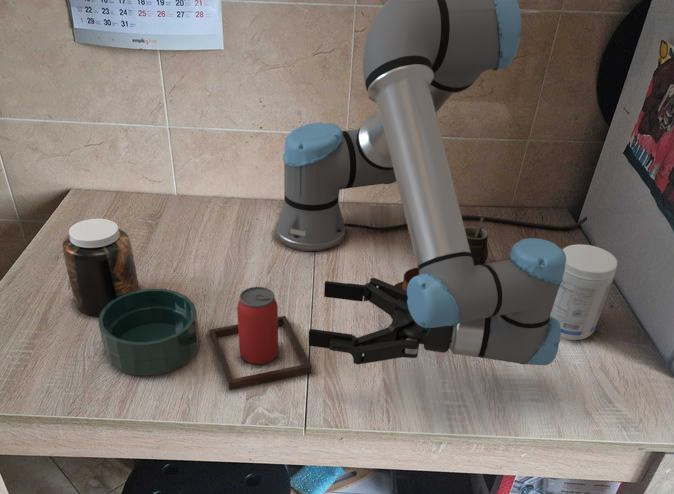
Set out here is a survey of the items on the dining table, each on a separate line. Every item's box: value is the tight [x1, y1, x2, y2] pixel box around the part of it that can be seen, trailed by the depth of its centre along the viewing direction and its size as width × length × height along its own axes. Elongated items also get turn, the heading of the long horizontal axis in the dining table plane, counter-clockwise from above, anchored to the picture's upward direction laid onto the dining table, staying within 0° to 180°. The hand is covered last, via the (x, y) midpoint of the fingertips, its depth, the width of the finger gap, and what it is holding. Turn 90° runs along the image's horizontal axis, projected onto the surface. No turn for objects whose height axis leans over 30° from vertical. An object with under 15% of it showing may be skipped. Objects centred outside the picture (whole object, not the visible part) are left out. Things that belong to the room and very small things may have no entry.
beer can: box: [236, 286, 279, 365], centre depth 107 cm, size 7×7×12 cm
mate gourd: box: [464, 215, 489, 266], centre depth 132 cm, size 7×8×10 cm
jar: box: [62, 218, 140, 318], centre depth 118 cm, size 12×12×15 cm
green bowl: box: [97, 288, 201, 376], centre depth 109 cm, size 16×16×7 cm
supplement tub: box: [550, 243, 618, 341], centre depth 114 cm, size 10×10×15 cm
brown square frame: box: [208, 315, 313, 391], centre depth 111 cm, size 14×15×2 cm
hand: (317, 311), depth 103 cm, fingers open, 13 cm apart
